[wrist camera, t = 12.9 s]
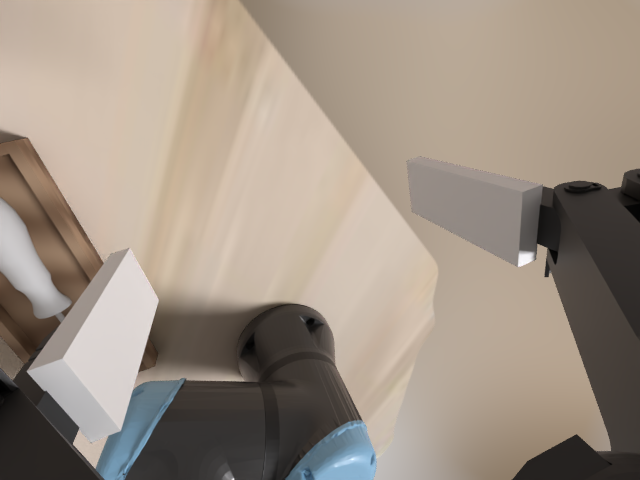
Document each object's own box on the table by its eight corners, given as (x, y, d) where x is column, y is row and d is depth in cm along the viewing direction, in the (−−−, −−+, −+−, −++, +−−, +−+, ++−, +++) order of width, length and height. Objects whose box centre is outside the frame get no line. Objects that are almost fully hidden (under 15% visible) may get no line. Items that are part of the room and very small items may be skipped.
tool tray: (158, 353, 45) (155, 366, 43) (66, 387, 43) (58, 402, 40) (27, 138, 32) (14, 140, 30) (-113, 171, 30) (-140, 176, 27)
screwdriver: (91, 360, 43) (72, 387, 39) (-42, 185, 31) (-87, 201, 27) (126, 353, 43) (110, 380, 39) (6, 176, 31) (-33, 190, 27)
